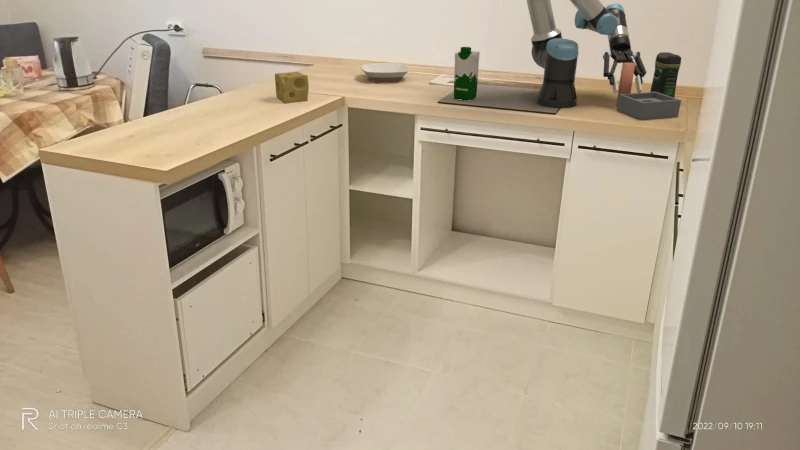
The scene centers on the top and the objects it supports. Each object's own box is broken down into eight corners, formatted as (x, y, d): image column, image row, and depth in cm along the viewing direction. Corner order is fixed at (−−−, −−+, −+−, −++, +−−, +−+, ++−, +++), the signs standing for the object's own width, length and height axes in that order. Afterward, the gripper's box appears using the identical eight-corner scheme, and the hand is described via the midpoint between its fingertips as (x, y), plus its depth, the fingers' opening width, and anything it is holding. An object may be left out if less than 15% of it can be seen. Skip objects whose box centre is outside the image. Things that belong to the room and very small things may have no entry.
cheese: (283, 104, 242) (281, 77, 238) (275, 98, 251) (273, 72, 247) (309, 101, 246) (308, 75, 242) (300, 95, 255) (298, 70, 251)
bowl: (359, 74, 294) (359, 63, 292) (406, 74, 297) (406, 62, 294) (362, 84, 275) (362, 72, 273) (412, 83, 277) (412, 71, 275)
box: (640, 119, 224) (643, 103, 222) (616, 110, 236) (618, 94, 234) (677, 116, 229) (681, 100, 226) (652, 107, 241) (655, 91, 238)
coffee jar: (677, 103, 247) (686, 54, 239) (657, 104, 246) (666, 55, 238) (664, 98, 255) (672, 50, 248) (645, 98, 254) (653, 51, 247)
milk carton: (450, 99, 250) (452, 47, 242) (458, 95, 257) (461, 44, 249) (471, 102, 247) (474, 49, 238) (479, 97, 254) (482, 46, 246)
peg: (620, 107, 240) (627, 64, 233) (613, 105, 244) (619, 62, 237) (630, 107, 241) (637, 64, 234) (623, 104, 245) (630, 62, 238)
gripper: (642, 47, 249) (651, 97, 241) (589, 47, 248) (596, 97, 240) (649, 35, 242) (660, 86, 234) (595, 35, 241) (603, 86, 233)
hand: (628, 91), depth 237 cm, fingers open, 8 cm apart
